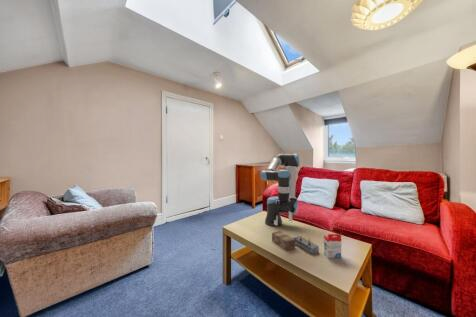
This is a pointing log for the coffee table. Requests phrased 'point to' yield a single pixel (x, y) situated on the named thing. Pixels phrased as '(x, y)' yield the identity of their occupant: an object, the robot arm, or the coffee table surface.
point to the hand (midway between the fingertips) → (283, 222)
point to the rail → (306, 244)
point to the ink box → (332, 245)
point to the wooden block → (283, 240)
